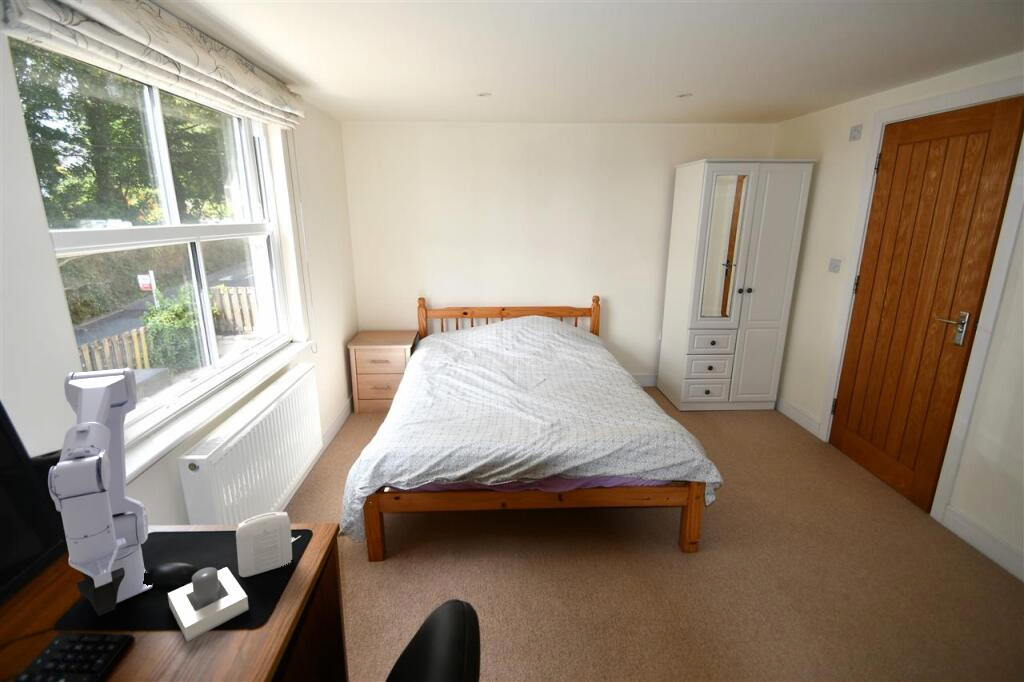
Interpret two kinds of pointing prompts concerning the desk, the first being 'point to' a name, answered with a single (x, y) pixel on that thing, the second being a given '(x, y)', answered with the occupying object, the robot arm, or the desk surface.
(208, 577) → the grey peg
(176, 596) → the housing
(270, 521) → the photo printer
